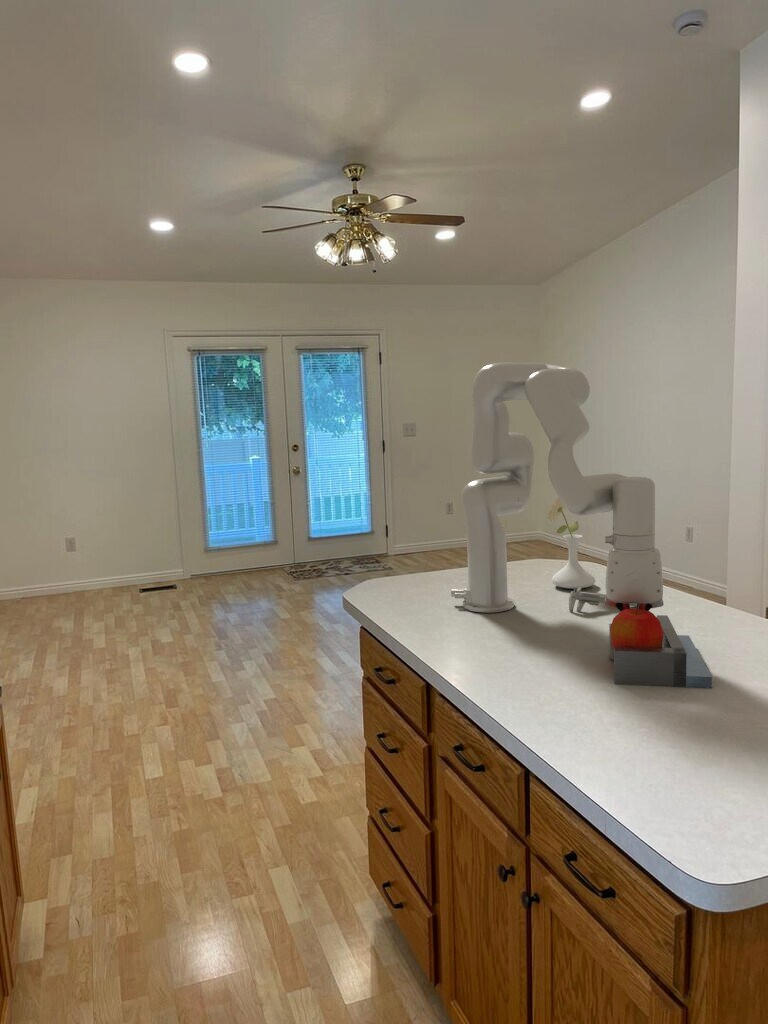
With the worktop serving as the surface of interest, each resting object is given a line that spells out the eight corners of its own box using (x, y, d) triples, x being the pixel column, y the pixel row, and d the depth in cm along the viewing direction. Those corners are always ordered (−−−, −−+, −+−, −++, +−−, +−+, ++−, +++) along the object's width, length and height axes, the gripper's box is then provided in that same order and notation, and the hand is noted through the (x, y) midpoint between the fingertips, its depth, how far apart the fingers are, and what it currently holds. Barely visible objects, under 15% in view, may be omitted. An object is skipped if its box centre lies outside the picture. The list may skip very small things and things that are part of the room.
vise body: (615, 684, 122) (614, 650, 121) (606, 642, 143) (606, 614, 142) (711, 688, 118) (712, 654, 117) (688, 645, 139) (689, 615, 138)
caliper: (570, 614, 165) (570, 588, 164) (569, 612, 166) (568, 587, 165) (653, 607, 167) (653, 581, 166) (651, 605, 168) (651, 580, 167)
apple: (601, 664, 131) (600, 602, 130) (645, 659, 133) (645, 597, 131) (626, 682, 122) (626, 615, 121) (673, 676, 124) (674, 610, 122)
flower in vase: (576, 579, 196) (575, 490, 192) (604, 588, 185) (604, 494, 182) (537, 586, 190) (536, 494, 187) (564, 595, 180) (563, 498, 177)
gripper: (593, 546, 132) (594, 640, 134) (678, 546, 128) (677, 643, 131) (591, 538, 139) (592, 628, 141) (672, 538, 135) (671, 630, 138)
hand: (633, 635), depth 136 cm, fingers closed
